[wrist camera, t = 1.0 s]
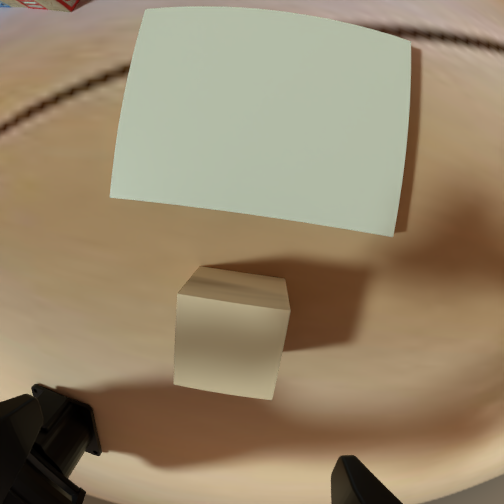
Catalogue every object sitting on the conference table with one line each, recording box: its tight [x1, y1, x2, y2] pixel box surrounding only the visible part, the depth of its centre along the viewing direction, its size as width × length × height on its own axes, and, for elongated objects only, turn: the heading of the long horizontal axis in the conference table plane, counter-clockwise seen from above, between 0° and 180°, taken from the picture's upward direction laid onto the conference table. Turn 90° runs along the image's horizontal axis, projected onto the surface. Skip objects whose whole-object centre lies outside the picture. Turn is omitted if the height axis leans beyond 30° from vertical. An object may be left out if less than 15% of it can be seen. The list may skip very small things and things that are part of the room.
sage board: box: [110, 6, 411, 237], centre depth 16 cm, size 12×16×1 cm
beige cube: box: [174, 266, 291, 400], centre depth 17 cm, size 5×5×5 cm
